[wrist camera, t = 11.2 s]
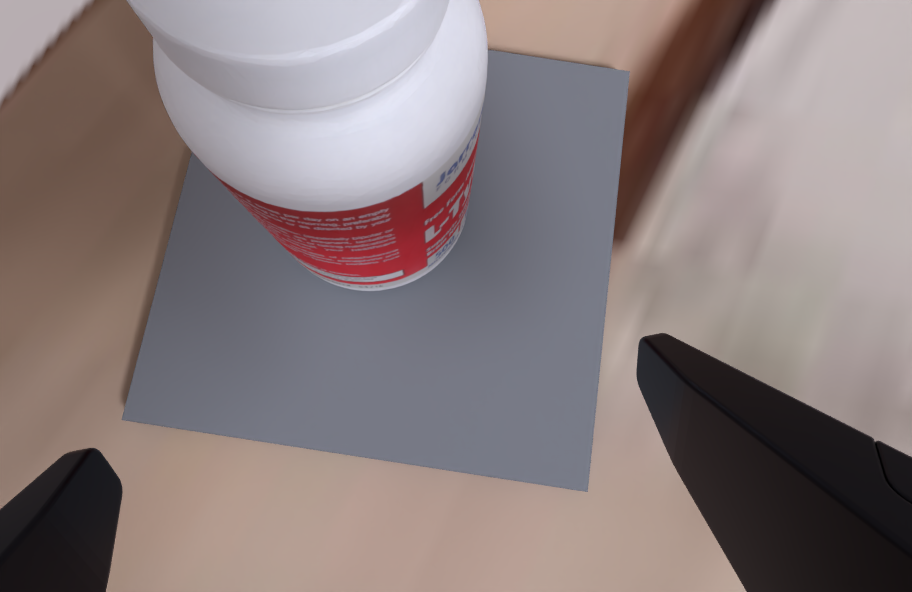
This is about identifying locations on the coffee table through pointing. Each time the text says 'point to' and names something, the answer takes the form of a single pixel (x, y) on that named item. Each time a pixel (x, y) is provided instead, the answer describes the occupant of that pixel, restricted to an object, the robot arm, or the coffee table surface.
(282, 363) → the mat
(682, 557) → the coffee table surface
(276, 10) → the pill bottle
